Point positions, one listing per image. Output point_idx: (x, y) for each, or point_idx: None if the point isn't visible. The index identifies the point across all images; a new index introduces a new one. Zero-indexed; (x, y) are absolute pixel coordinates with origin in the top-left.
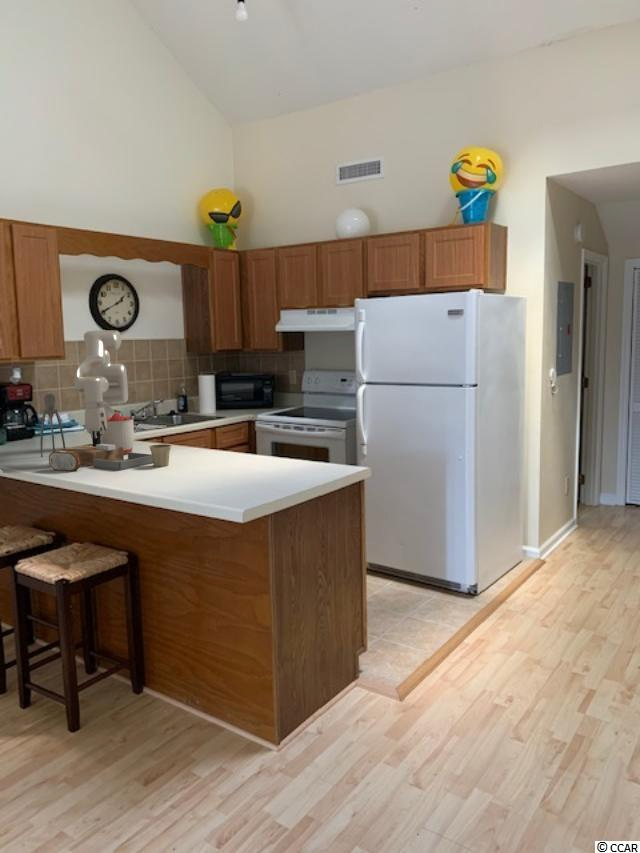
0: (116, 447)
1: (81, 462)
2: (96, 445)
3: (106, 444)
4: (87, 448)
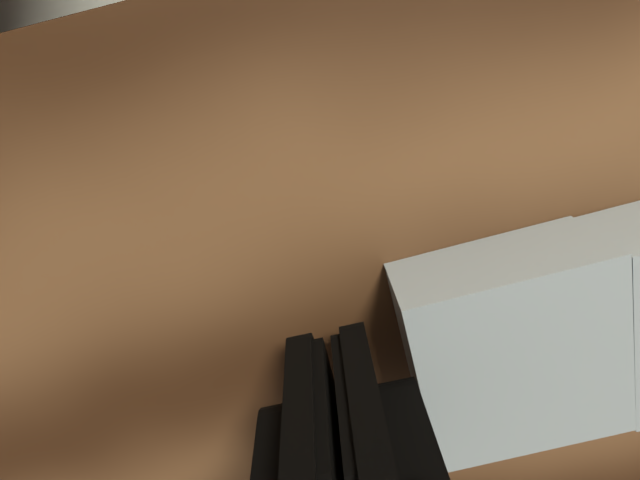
0: (593, 25)
1: None
2: (458, 459)
3: (621, 318)
4: (193, 454)
